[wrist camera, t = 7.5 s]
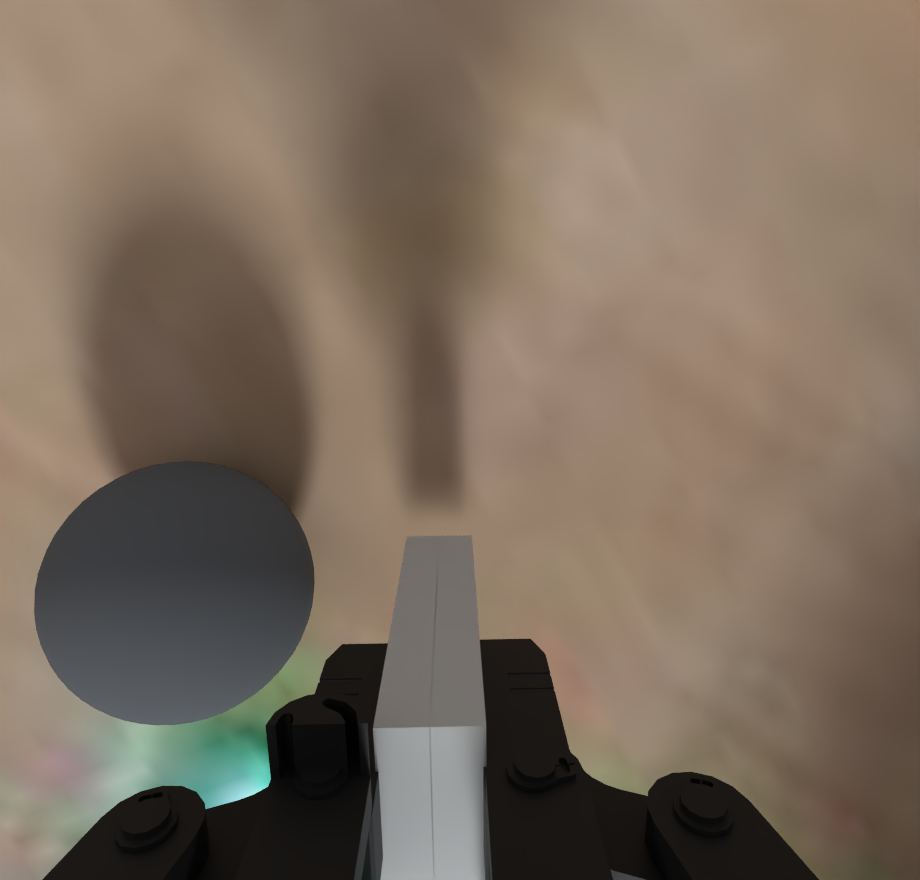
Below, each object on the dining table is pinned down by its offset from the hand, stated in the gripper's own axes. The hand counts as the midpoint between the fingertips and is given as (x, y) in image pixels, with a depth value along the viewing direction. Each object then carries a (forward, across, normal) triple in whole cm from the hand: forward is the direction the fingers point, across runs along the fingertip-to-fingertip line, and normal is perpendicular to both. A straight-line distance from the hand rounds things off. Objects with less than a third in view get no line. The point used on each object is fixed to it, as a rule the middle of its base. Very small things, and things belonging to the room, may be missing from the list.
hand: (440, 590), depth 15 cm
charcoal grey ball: (-1, +6, -1) cm, 6 cm away
